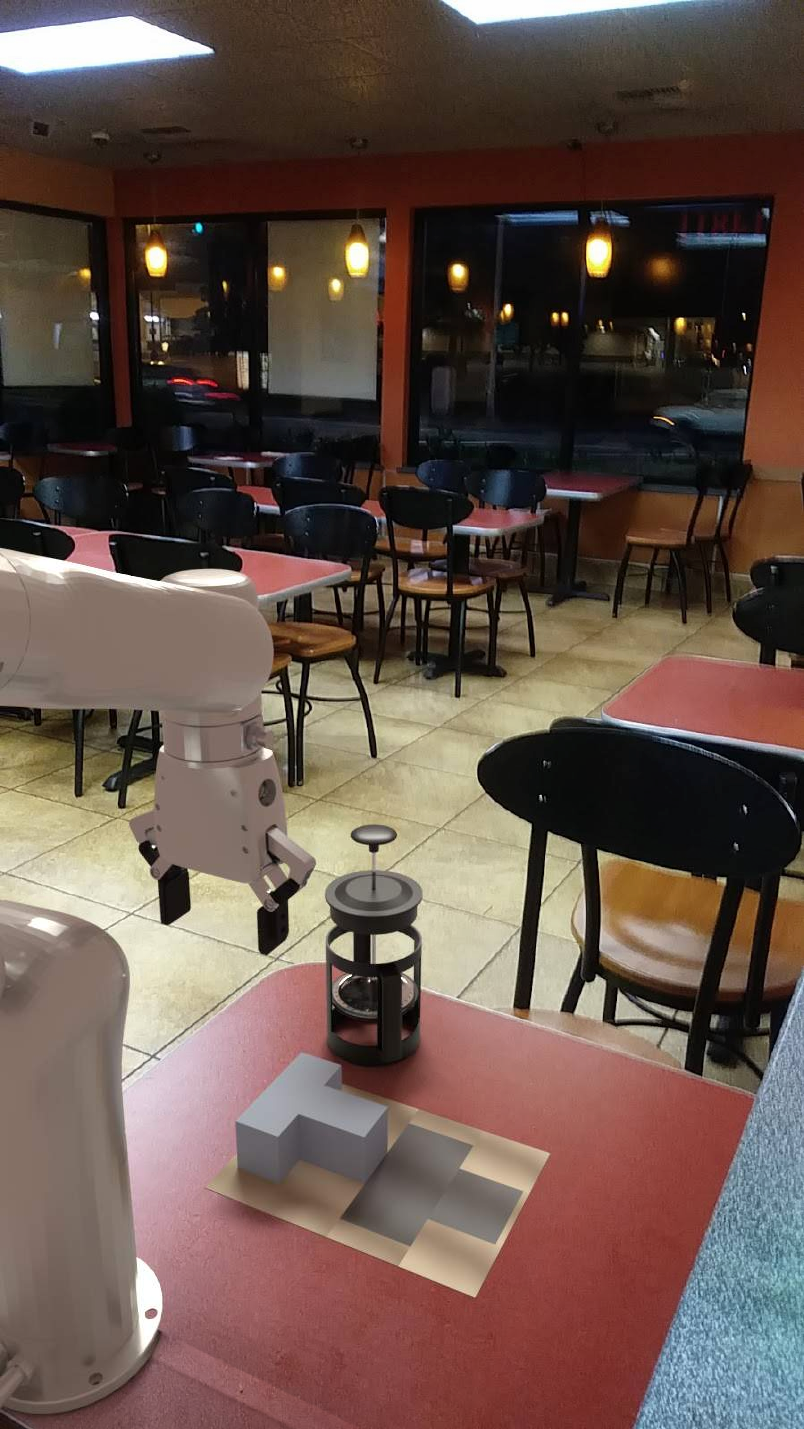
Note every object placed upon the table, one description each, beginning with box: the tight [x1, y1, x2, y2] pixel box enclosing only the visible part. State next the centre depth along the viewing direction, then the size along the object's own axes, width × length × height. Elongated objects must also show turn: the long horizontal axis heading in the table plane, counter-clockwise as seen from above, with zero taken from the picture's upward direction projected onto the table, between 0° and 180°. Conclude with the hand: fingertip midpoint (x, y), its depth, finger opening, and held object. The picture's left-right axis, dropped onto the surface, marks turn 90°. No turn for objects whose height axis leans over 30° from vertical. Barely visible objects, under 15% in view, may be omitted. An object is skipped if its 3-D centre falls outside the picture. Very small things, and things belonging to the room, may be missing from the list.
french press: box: [324, 823, 423, 1068], centre depth 99 cm, size 12×9×23 cm
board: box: [204, 1083, 551, 1299], centre depth 86 cm, size 16×23×1 cm
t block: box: [234, 1052, 388, 1184], centre depth 88 cm, size 10×10×4 cm
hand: (223, 931), depth 87 cm, fingers open, 9 cm apart
